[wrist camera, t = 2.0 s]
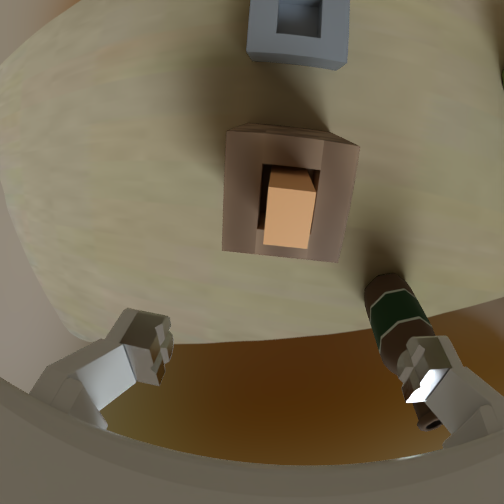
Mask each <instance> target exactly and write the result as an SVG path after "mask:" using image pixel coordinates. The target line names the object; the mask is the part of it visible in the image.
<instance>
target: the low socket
mask: <svg viewBox="0 0 504 504" xmlns="http://www.w3.org/2000/svg"><path fill="white" fill-rule="evenodd" d="M349 11H350V0H251V1H250V12H249V23H248V35H247V47H246V52H247V54H248V55H249V57H250V59H251V60H252V61H260V62H274V63H286V64H295V65H303V66H311V67H318V68H324V69H330V70H338V69H339V68H341V67H342V66H343V65H345V64H346V63H347V56H348V38H349Z"/></svg>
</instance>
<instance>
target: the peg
mask: <svg viewBox="0 0 504 504" xmlns="http://www.w3.org/2000/svg"><path fill="white" fill-rule="evenodd" d="M315 197H316V191H315V188H314V186H313V183H312V181H311V178H310V176H309V174H308V171H307V169H306V168H300V167H292V166H283V165H273V164H272V168H271V174H270V181H269V187H268V198H267V209H266V219H265V230H264V241H263V244H265V245H274V246H284V247H293V248H303V249H307V247H308V241H309V235H310V229H311V223H312V217H313V210H314V204H315Z"/></svg>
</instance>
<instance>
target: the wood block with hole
mask: <svg viewBox="0 0 504 504" xmlns="http://www.w3.org/2000/svg"><path fill="white" fill-rule="evenodd" d="M359 152H360V146H358V145H356V144H354V143H352V142H350V141H348V140H346V139H344V138H342V137H339V136H337V135H335V134H333V133H331V132H325V131H319V130H311V129H304V128H296V127H287V126H277V125H266V124H253V123H246V124H244V125H241V126H238V127H236V128H233V129H231V130H228V131H227V132H226V151H225V173H224V199H223V231H222V251H230V252H240V253H249V254H259V255H268V256H278V257H287V258H297V259H306V260H316V261H325V262H335V263H338V260H339V256H340V252H341V247H342V243H343V239H344V234H345V229H346V224H347V220H348V215H349V210H350V204H351V199H352V194H353V188H354V183H355V177H356V171H357V165H358V158H359ZM272 164H273V165H283V166H292V167H300V168H306V169H307V171H308V174H309V176H310V178H311V181H312V183H313V186H314V188H315V191H316V197H315V204H314V210H313V217H312V223H311V229H310V235H309V241H308V247H307V249H303V248H293V247H284V246H274V245H265V244H263V241H264V230H265V219H266V209H267V198H268V187H269V181H270V174H271V168H272Z"/></svg>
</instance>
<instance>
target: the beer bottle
mask: <svg viewBox="0 0 504 504" xmlns="http://www.w3.org/2000/svg"><path fill="white" fill-rule="evenodd" d="M365 307H366V311H367V315H368V318H369V321H370V324H371V327H372V330H373V333H374V336H375V339H376V343H377V346H378V349H379V353H380V355H381V358H382V361H383V363H384V364H385V366H386V367H387V368H388V369H389V370H390V371H391V372H393V373H394V374H396V375H398V374H397V363H398V359H399V357H400V355H401V353H403V352H404V351H405V350H407V346H406V344H407V342H408V340H409V339H410V338H411V337H424V336H435V334H434V331H433V328H432V326H431V324H430V322H429V320H428V319H427V317H426V315H425V313H424V311H423V309H422V307H421V306H420V304H419V302H418V300H417V298H416V297H415V295H414V293H413V291H412V290H411V288H410V287H409V285H408V284H407V282H406V281H404V280H403V279H402V278H400V277H399V276H398V275H397V274H395V273H392V274H386V275H381V276H377V277H376V278H375V279H374V280H373V281H372V282H371V283H370V284H369V285H368V286H367V288H366V289H365ZM412 403H413V406H414V409H415V411H416V414H417V417H418V420H419V421H418V423H417V426H418V427H419V429H420V430H422V431H430V430H433V429H436V428H438V427H440V426H441V425H443V423H442V422H441V421H440V420H439V419H438V417H437V416H436V415H435V414H434V413H433V412H432V410H431V409H430V408H429V407H428V406H427V405H426V403H425V401H421V402H412Z"/></svg>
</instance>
